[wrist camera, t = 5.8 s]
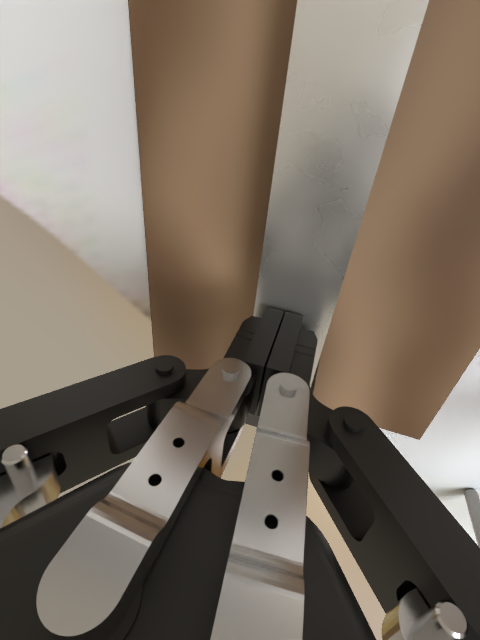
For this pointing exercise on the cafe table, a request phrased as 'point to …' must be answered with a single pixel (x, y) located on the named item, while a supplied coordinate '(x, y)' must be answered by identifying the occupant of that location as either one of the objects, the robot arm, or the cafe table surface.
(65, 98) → the cafe table surface
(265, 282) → the tong arm
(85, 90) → the cafe table surface
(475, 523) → the juicer
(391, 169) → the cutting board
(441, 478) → the cafe table surface
